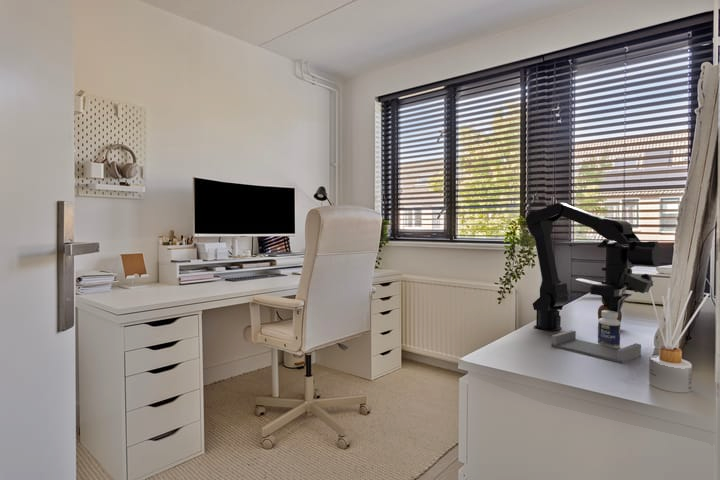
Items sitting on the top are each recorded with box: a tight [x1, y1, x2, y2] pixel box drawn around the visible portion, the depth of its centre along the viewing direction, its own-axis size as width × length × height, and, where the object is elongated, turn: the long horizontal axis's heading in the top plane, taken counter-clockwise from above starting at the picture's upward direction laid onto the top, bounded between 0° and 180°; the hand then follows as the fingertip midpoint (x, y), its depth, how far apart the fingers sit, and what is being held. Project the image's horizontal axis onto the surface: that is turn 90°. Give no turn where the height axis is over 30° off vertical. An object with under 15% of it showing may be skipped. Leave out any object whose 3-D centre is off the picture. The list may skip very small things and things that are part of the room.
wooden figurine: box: [597, 297, 623, 323], centre depth 137 cm, size 7×6×15 cm
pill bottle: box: [597, 310, 622, 349], centre depth 115 cm, size 5×5×10 cm
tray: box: [550, 329, 642, 364], centre depth 110 cm, size 18×11×3 cm, turn 35°
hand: (615, 318), depth 117 cm, fingers closed
